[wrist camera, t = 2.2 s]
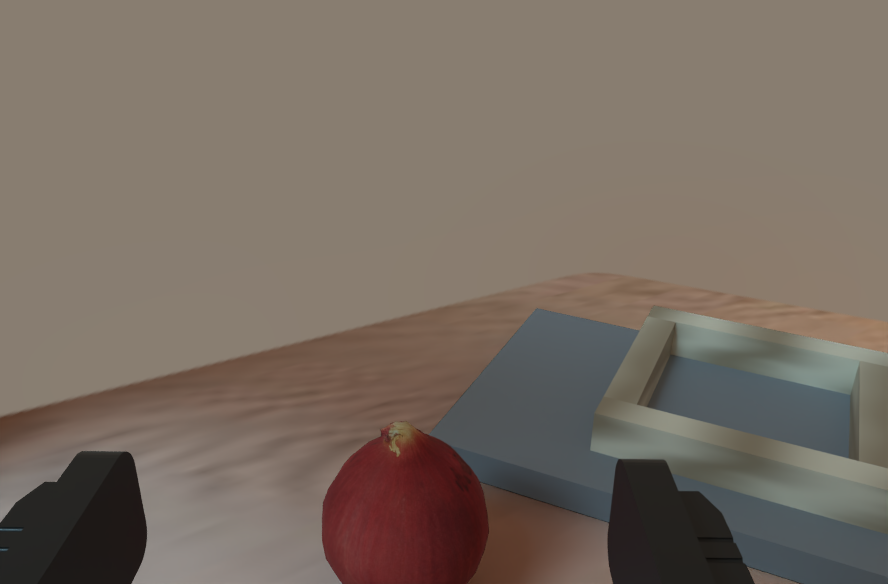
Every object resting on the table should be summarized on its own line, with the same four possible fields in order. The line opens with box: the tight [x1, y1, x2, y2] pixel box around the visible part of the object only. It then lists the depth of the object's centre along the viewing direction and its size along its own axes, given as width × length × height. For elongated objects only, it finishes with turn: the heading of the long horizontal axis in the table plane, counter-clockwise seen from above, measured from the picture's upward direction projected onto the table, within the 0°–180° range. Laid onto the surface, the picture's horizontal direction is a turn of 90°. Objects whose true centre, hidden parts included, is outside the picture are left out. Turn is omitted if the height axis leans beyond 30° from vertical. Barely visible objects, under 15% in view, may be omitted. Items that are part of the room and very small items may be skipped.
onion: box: [322, 421, 489, 584], centre depth 28 cm, size 6×6×8 cm
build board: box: [429, 308, 888, 584], centre depth 39 cm, size 20×15×2 cm
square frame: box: [590, 306, 888, 534], centre depth 38 cm, size 12×12×2 cm
